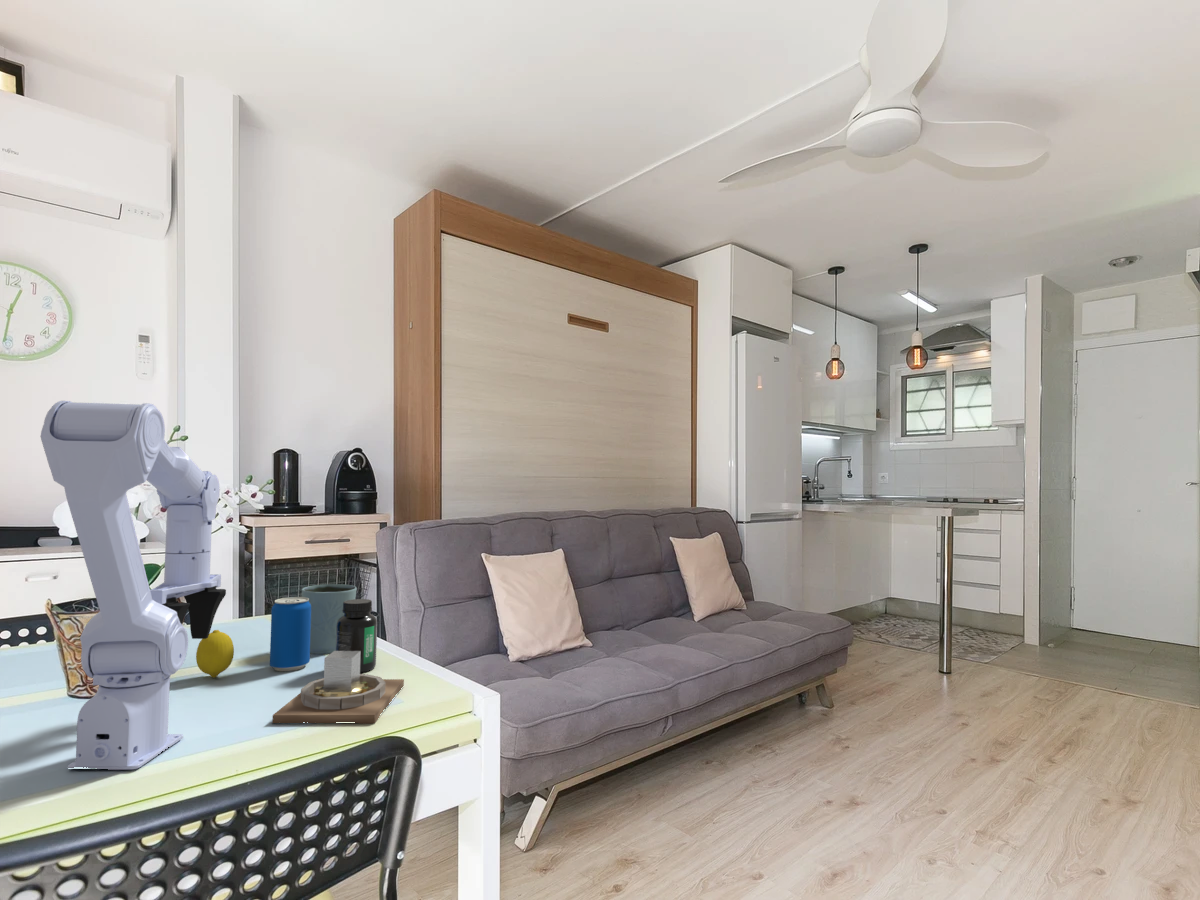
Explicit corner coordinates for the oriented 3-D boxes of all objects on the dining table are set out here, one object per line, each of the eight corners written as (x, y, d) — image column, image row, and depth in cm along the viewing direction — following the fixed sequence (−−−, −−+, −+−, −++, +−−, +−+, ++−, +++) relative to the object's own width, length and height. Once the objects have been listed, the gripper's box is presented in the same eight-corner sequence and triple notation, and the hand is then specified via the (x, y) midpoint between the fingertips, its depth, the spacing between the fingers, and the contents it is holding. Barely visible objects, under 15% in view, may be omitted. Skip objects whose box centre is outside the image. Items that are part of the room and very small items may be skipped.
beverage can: (310, 660, 122) (312, 595, 122) (308, 670, 116) (310, 602, 116) (271, 664, 119) (273, 597, 120) (267, 674, 113) (269, 604, 114)
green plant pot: (292, 647, 131) (294, 586, 131) (343, 639, 138) (345, 581, 138) (310, 658, 123) (312, 594, 124) (363, 649, 130) (364, 588, 131)
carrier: (374, 723, 92) (375, 703, 92) (272, 723, 91) (273, 704, 91) (403, 686, 108) (404, 670, 108) (317, 686, 107) (317, 670, 107)
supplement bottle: (379, 671, 116) (380, 603, 116) (337, 676, 112) (339, 606, 113) (372, 661, 122) (374, 596, 122) (333, 666, 118) (334, 599, 119)
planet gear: (359, 704, 96) (360, 661, 96) (305, 704, 95) (306, 661, 95) (375, 687, 103) (376, 647, 104) (325, 687, 103) (326, 647, 103)
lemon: (215, 683, 108) (217, 634, 108) (187, 681, 109) (189, 632, 109) (240, 673, 113) (242, 627, 114) (213, 671, 114) (214, 625, 115)
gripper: (185, 558, 90) (182, 658, 89) (241, 546, 104) (238, 633, 104) (133, 557, 90) (129, 658, 89) (196, 546, 104) (193, 632, 103)
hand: (184, 644), depth 96 cm, fingers open, 7 cm apart
